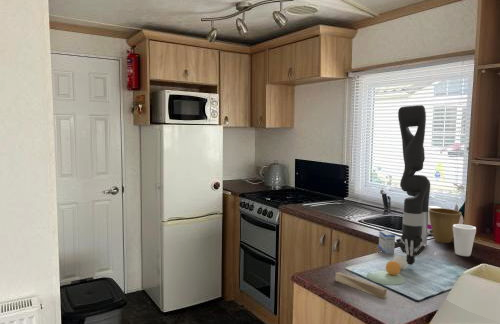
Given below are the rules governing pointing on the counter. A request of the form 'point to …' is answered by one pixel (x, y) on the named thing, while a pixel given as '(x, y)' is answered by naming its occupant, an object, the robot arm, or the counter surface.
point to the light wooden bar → (361, 285)
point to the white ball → (401, 261)
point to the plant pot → (443, 223)
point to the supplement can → (429, 229)
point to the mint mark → (386, 278)
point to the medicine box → (386, 242)
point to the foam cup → (463, 239)
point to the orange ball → (393, 268)
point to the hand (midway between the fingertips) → (410, 264)
